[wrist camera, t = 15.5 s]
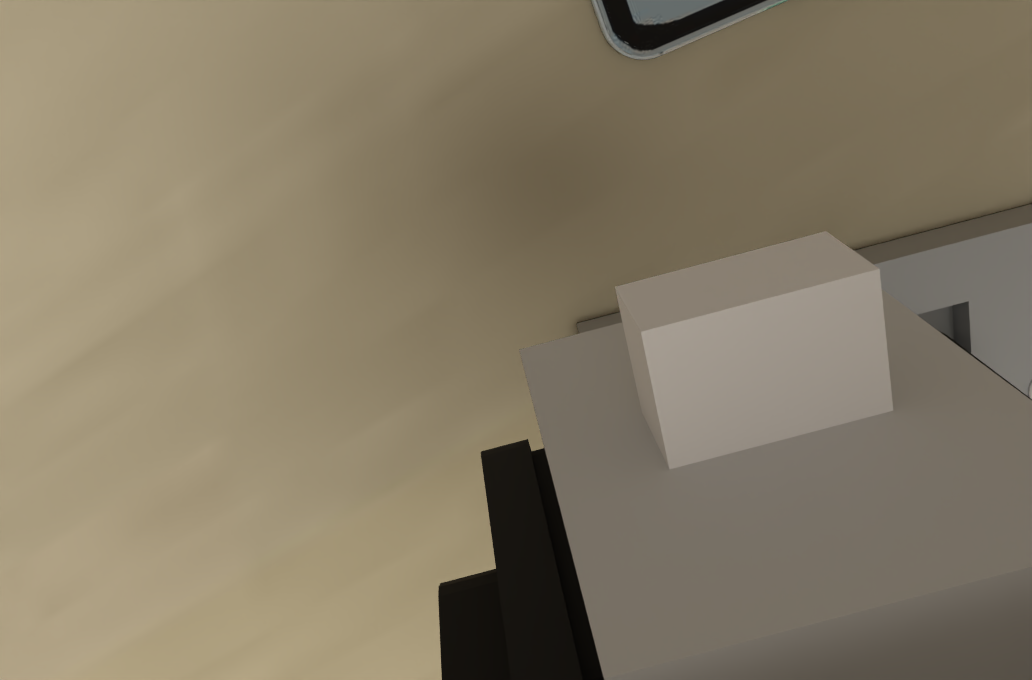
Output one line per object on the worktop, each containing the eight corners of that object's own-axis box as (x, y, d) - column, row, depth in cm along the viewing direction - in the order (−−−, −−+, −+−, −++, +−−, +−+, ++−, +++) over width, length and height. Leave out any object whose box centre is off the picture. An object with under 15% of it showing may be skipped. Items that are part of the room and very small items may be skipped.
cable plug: (835, 153, 10) (1206, 341, 5) (887, 627, 12) (1172, 1039, 8) (491, 245, 10) (558, 512, 5) (611, 699, 12) (730, 1155, 8)
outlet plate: (1076, 191, 26) (1107, 204, 25) (1077, 495, 30) (1104, 518, 29) (576, 323, 26) (584, 342, 25) (643, 608, 30) (652, 636, 29)
